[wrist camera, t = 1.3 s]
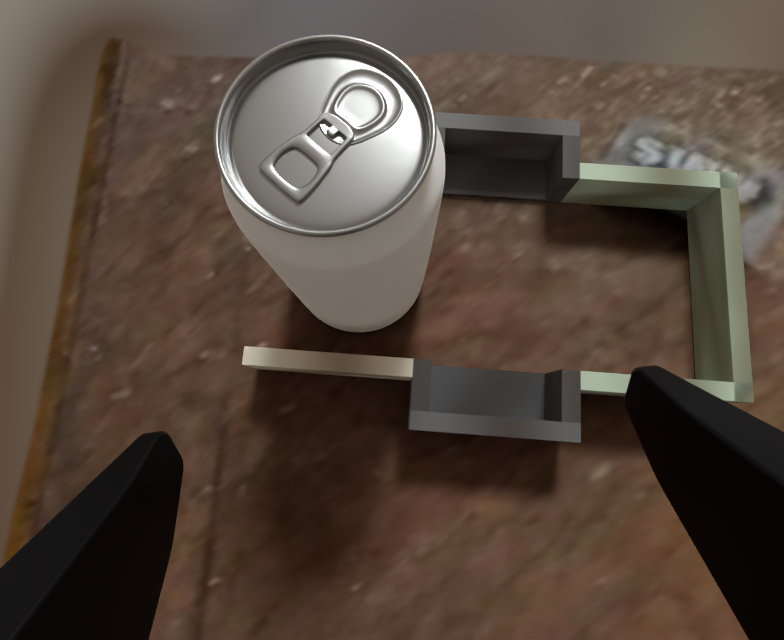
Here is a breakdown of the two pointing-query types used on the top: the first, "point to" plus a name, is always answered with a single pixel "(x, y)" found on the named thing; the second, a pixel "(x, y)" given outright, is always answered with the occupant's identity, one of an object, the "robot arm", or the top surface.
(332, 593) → the top surface
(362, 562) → the top surface
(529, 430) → the channel
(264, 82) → the can
